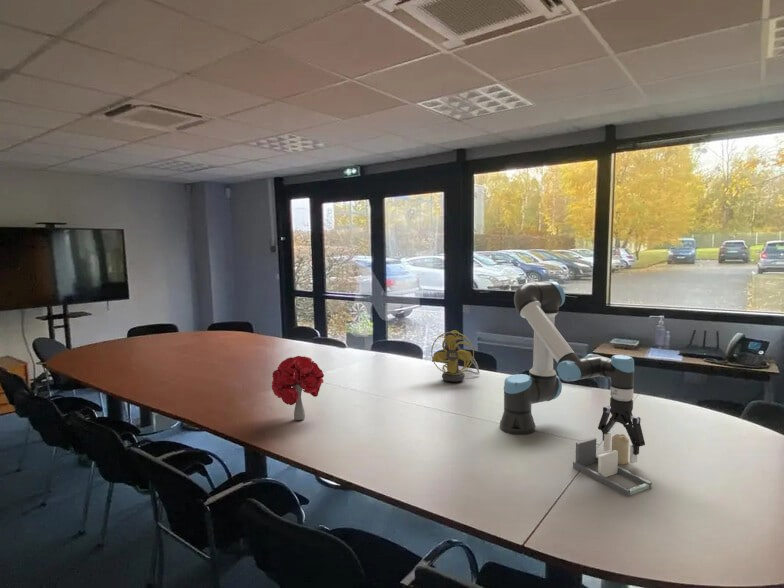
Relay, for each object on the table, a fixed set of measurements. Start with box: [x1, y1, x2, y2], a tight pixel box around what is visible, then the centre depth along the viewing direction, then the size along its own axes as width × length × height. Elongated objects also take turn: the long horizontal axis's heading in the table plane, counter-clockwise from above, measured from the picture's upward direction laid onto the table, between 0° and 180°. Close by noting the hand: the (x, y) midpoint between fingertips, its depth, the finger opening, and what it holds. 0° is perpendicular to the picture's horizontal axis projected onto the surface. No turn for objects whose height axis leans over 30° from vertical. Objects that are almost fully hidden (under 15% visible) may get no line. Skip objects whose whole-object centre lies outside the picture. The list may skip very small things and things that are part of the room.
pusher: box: [597, 450, 619, 478], centre depth 157 cm, size 1×8×8 cm, turn 115°
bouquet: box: [271, 355, 325, 421], centre depth 215 cm, size 22×24×30 cm
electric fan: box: [430, 330, 480, 382], centre depth 280 cm, size 26×32×30 cm
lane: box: [572, 437, 652, 497], centre depth 156 cm, size 22×11×9 cm, turn 25°
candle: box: [611, 433, 630, 465], centre depth 167 cm, size 6×6×10 cm
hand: (619, 455), depth 167 cm, fingers open, 10 cm apart
